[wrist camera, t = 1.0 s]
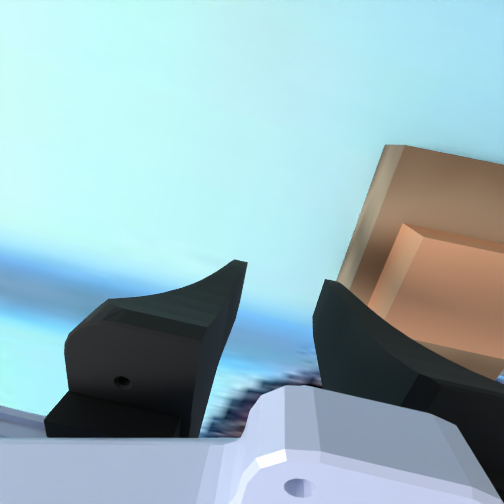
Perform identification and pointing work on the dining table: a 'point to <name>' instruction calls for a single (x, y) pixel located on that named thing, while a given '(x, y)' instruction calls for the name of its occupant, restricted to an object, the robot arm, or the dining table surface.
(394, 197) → the stand
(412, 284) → the orange flat block
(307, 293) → the dining table surface
